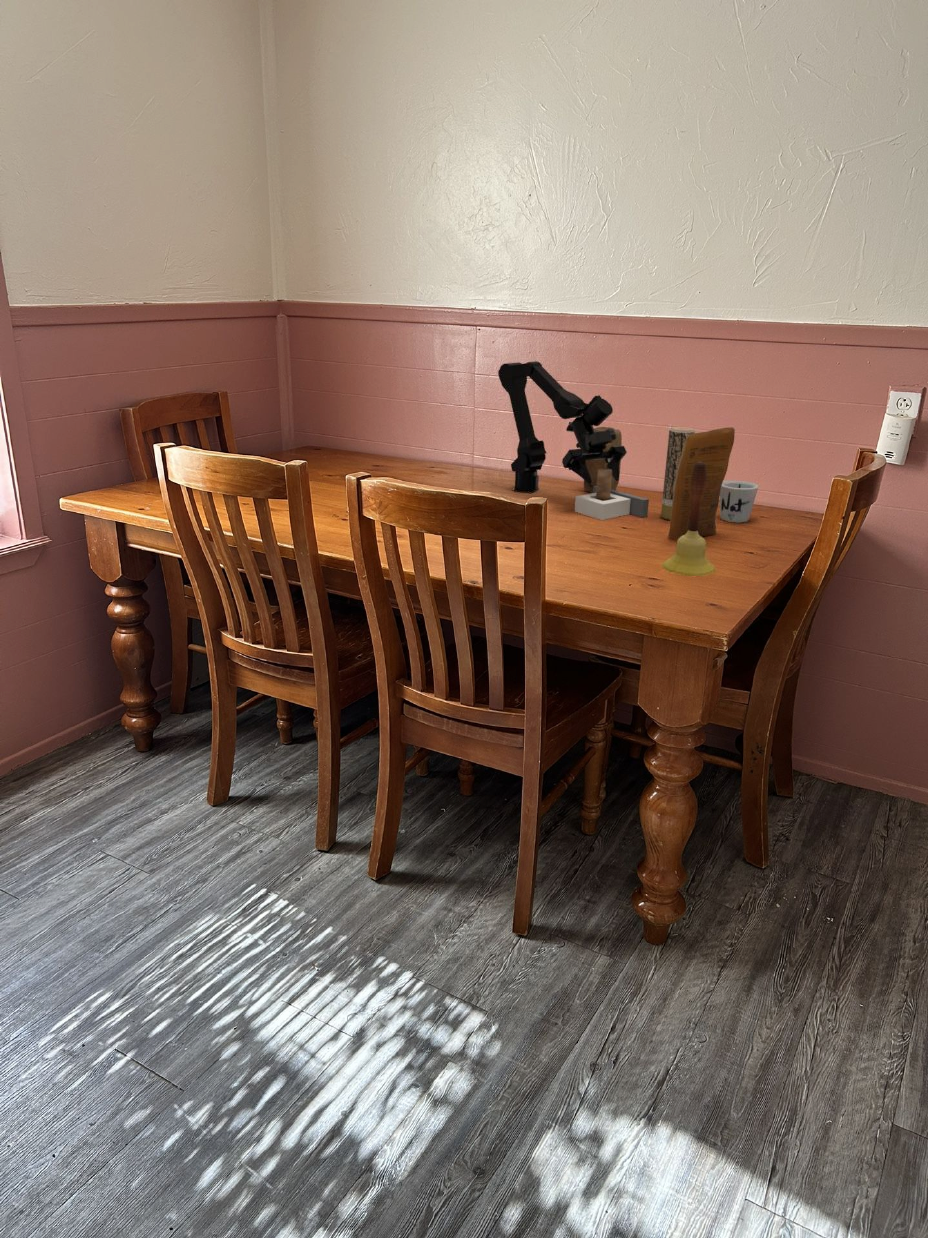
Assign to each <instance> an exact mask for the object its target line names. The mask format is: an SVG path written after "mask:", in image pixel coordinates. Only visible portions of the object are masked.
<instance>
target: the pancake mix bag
mask: <svg viewBox="0 0 928 1238" xmlns="http://www.w3.org/2000/svg"><path fill="white" fill-rule="evenodd" d="M735 430H736V429H735V428H734V427H722V428H716V429H711V430H708V431H700V432H695V433H693V434H689V439H685V442H684V446H683V449H682V453H681V457H680V460H679V464H678V468H677V472H676V478H675V484H674V492H673V502H672V510H671V519H670V520H669V531H668V534H667V535H668V536H667V539H673V540H678V539H679V538H680V537H681V536H683V535H685V534H686V533H687V532H688V528H689V519H690V510H691V499H692V498H691V492H690V485H691V476H692V473H693V470H694V466H695V464H696V462H705V464H706V474H707V479H706V488H705V492H704V494H703V497H702V500H701V507H700V516H699V524H698V534H699V535H700V536H701V537H707V536H714V535H715V534H716V531H717V526H716V520H717V519H716V518H717V511H718V507H719V504H720V490H721V486H722V483H723V481H725V477H726V475H727V471H728V469H729V463H730V457H731V452H732V450H733V447H734V446H733V445H734V443H735V433H736V431H735Z"/></svg>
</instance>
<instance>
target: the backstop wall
mask: <svg viewBox="0 0 928 1238" xmlns="http://www.w3.org/2000/svg"><path fill="white" fill-rule="evenodd" d="M596 489H597V486H593V493H596ZM611 494H614V495H618V496H622V497H625V498H629V499H631V502H630V514H629V515H631V516H635V517H639V518H646V517H648V513H649V502H650V499H649V498H645V497H642V496H639V495H638V496H637V495H634V494H631V493H626V492H623V491H620V490H613V489H611Z"/></svg>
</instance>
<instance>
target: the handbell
mask: <svg viewBox="0 0 928 1238" xmlns="http://www.w3.org/2000/svg"><path fill="white" fill-rule="evenodd" d="M706 479H707V474H706V464H705V462H696V464H695V466H694V470H693V473H692V476H691V485H690V492H691V498H692V499H691V510H690V519H689V528H688V532H687V533H686V534H685V535H683V536H681V537H680V538H679V539H677V540H676V545H675V553H674V554H673V555H672V556H671V557H669V558H668V559H666V560H665V561H664V562H663V563H662V564H661V567H663V570H664V569H665V570H664V571H666V570H668V571H669V573H670V572H674V573H676V574H675V575H677V574H681V575H680V576H682V575H685V576H684V577H692V576H700V577H704V576H703V575H706V574H711V573H713V572H715V573H716V571H715V570H716V567H715V566H714V565H713V564H712V562H711V561H709V560H708V557H707V556H706V550H707V549H706V547H707V543H706V540H705V538H703V536H700V535H699V534H698V524H699V516H700V507H701V500H702V497H703V494H704V492H705V488H706ZM668 571H667V572H668ZM711 575H712V574H711Z"/></svg>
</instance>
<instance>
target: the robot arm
mask: <svg viewBox="0 0 928 1238" xmlns="http://www.w3.org/2000/svg"><path fill="white" fill-rule="evenodd" d="M497 372H498V373H497V374H498V379H499V381H500V384H501V386H502V388H503V389H504V390H505V391H506V393H508V396H509V401H510V404H511V405H510V406H511V409H512V413H513V418H514V423H515V426H516V431H517V435H518V440H519V441H518V444H517V448H516V453H517V457H516V458H515V459H514V460H513V462H512V463H511V464H510V468H511V471H512V472H514V473H515V475H514V477H515V478H514V488H513V489H514V490H517V491H516V492H521V491H526V492H525V493H529V492H532V493H534V492H536V491H537V490H539V477H540V476H539V475H538V471H541V470H542V467H543V464H544V463H545V460H546V458H547V456H546V454H547V453H548V452H547V451H546V448H545V442H544V440H539V439H538V438H537V437H536V434H535V431H534V430H535V429H534V426H533V422H532V420H533V419H532V417H531V412H530V408H529V403H528V399H527V395H526V387H527V383H528V378H530V379H531V380H532V382H534V384H535V385H536V386H537V387H538V388H539V389H541V391H542V392H543V393H544V394H545V395H546V396H547V397H548V398H549V399H550V400H551V402H552V405H553V409H554V410H555V412H556V413H557V414H558V416H559V417H560V418H561V419H563V420H569V419H573V420H572V421H569V422H568V425H567V427H566V432H571V433H573V434H574V436H575V438H576V441H577V443H576V444H575V446H576V449H575V448H574V449H572V448H571V449H568V451H567V453H566V454H565V455H564V456H563V458H562V460H561V464H562V467H563V468H564V469H568V471H573V472H574V473H575V474H576V475H577V476H579V477H580V478H582V480H583V481H584V480H585V481H586V482H587V483H589V484H591V483H592V480H591V477H590V474H589V472H588V469H587V467H586V460H597V459H605V461H606V463H608V464H607V467H608V469H611V470H612V476H613V477H614V479H615V480H616V481H618V480H619V481H620V475H619V463H620V460H621V461H622V459H623V458H624V457H625V456H626V454H627V453H628V452H627V449H626V447H625V446H624V445H621V446H612V447H611V448H610V449H609V450H608V451H607V452H603V449H605V448H606V447H607V446H606V444H608V443H611V442H612V441H613V440H615V439H616V433H615V431H614V429H615V428H614V429H608V430H606V431H599V432H595V430H594V427H600V425H602V423H603V422H604V421H605V420H607V419H608V418H609V417H610V416H611V415H612V414H613V412H614V410H613V406H612V404H611V403H610V402H609V401H608V400H606V399H605V398H602V396H601V394H599V395H594V396H593V398H592V399H591V400H590V401H589V402H588V403H587V402H585V401H584V400H583V399H582V397H579V396H578V395H576V393H573V392H571V391H569V390H567V389H565V388H564V387H563V386H562V385H561V384H560V383H559V382H558V381H557V380H556V379H555V378H554V377H553V376H552V375H551V374H550V373H549V372H548V371H547V370H546V369H545V368H544V367H543V364H542V363H541V362H539V361H538V360H537V361H536V360H535V361H527V362H524V363H522V362H506V363H502V364H501V365H500V367H499V369H498V371H497Z"/></svg>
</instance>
